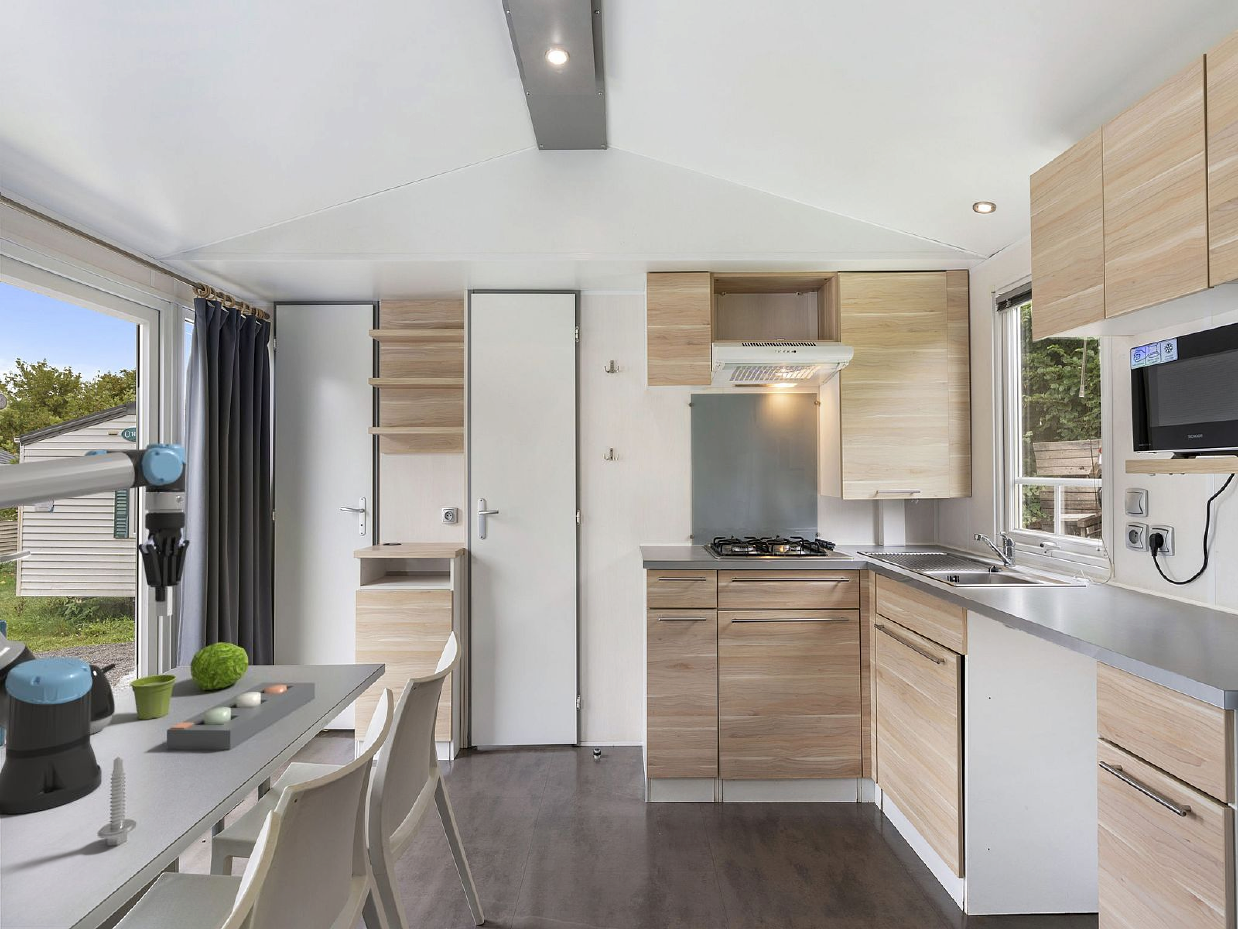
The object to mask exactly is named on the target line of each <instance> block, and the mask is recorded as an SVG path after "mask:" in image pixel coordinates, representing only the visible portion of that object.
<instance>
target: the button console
mask: <svg viewBox="0 0 1238 929" xmlns="http://www.w3.org/2000/svg"><path fill="white" fill-rule="evenodd" d="M274 685H286V686H287V690H286V691H284V692H282V693H264V689H265V688H266V687H269V686H274ZM315 689H316V683H315V682H261V683H259V684H257V685H255V686H253V687H251V688H250V689H247V690H245V691H243V692H241V693H239V694H237V695H235V696H233V697H231V698H229V699H227V700H225V701H223V702H221V703H218V704H216V705H215V706H213V707H210V708H208V709H206V710H204V711H203V712H200V713H199V714H196V715H194V716H192V717H191V718H188V719H186V720H184V721H181V722H179V723H177V724H175V725H173V726H172V727H171V726H170V728H167V730H166V750H217V751H218V750H224V751H225V750H229V751H230V750H232V749H234V748H236V747H238V746H239V745H240V744H242V743H244V742H245V741H247V740H248V739H250V738H252V737H254V736H255V735H257V734H258V733H260V732H262V731H263V730H265V729H267V728H268V727H271V725H274V724H275V723H277V722H278V721H280V720H281V719H283V718H285V717H287V716H288V715H289V714H291V713H293V712H295V711H296V710H297V709H300V708H301V707H303V706H304V705H307V704H308V703H309V702H311V701H312V700H315V696H316V693H315V692H316V690H315ZM249 692H259V693H261V704H260V705H258V706H256V707H254V708H236V697H237V696H238V695H240V694H244V693H249ZM220 707H229V708H231V720H230V721H228V722H227V723H225V724H223V725H204V713H205V712H206V711H208V710H210V709H214V708H220Z"/></svg>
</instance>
